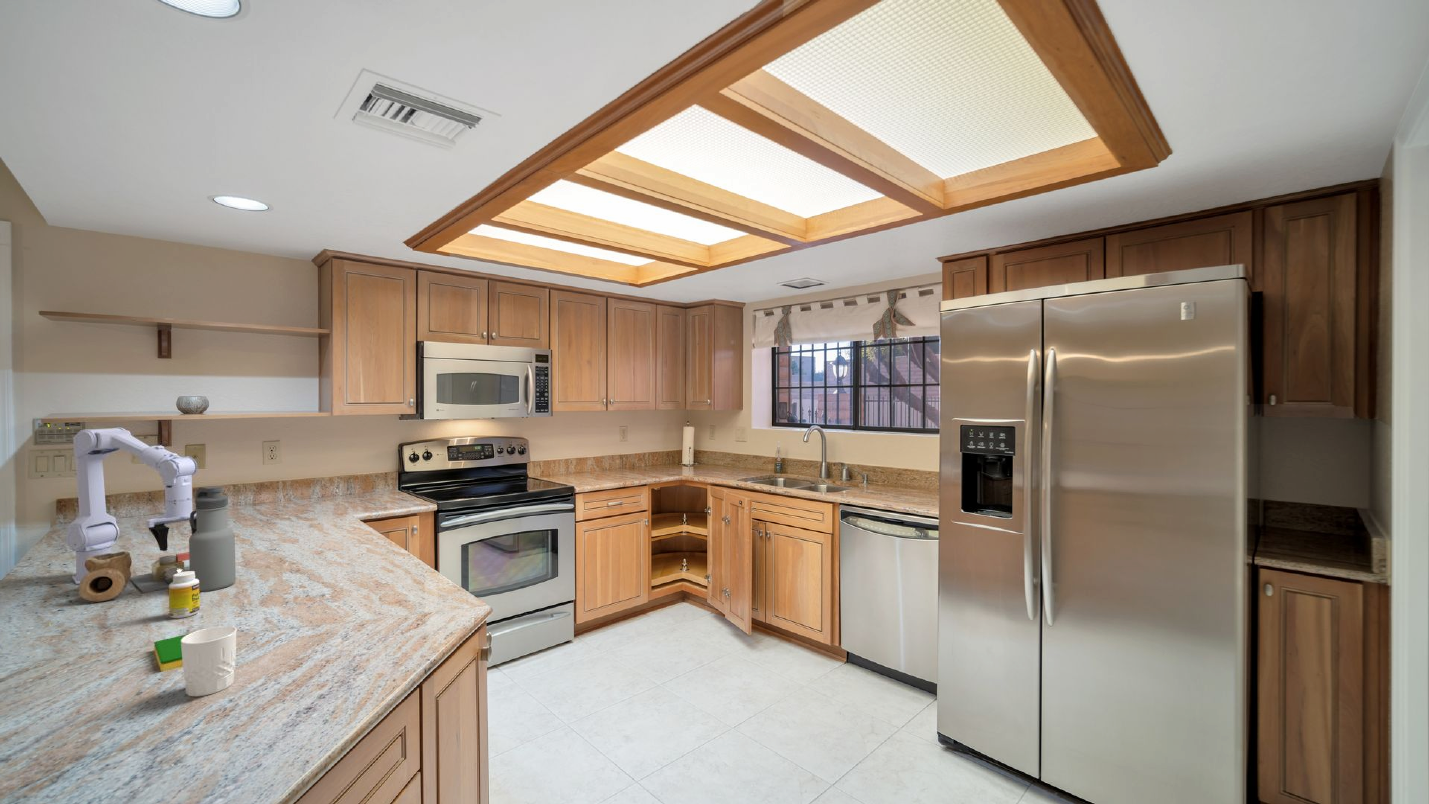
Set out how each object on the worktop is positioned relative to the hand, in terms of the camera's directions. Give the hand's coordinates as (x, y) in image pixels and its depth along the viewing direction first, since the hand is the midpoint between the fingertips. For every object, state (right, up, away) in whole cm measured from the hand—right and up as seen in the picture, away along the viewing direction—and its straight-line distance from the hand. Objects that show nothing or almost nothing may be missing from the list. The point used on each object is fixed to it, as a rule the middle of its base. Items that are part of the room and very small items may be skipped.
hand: (180, 547), depth 169 cm
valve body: (-6, -10, +3) cm, 12 cm away
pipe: (-10, -11, -10) cm, 18 cm away
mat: (-4, -10, +4) cm, 11 cm away
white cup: (+59, -12, -59) cm, 85 cm away
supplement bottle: (+23, -11, -24) cm, 35 cm away
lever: (-4, -5, +6) cm, 9 cm away
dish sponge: (+42, -12, -46) cm, 63 cm away
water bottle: (+13, -10, -4) cm, 17 cm away
